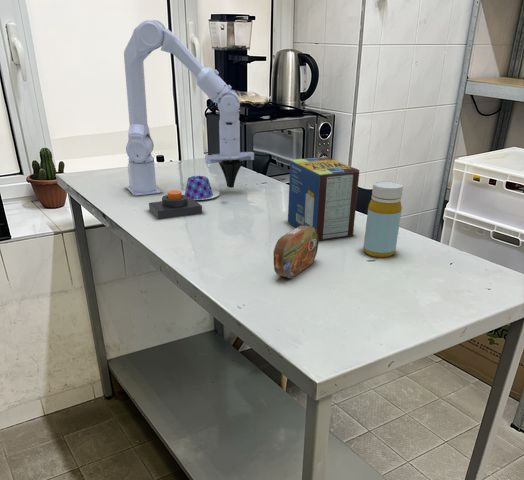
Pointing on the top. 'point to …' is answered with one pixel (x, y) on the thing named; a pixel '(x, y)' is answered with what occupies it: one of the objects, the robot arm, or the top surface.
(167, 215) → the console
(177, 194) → the button
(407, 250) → the top surface
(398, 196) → the bottle
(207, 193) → the pudding
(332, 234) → the protein box
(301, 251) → the tin
